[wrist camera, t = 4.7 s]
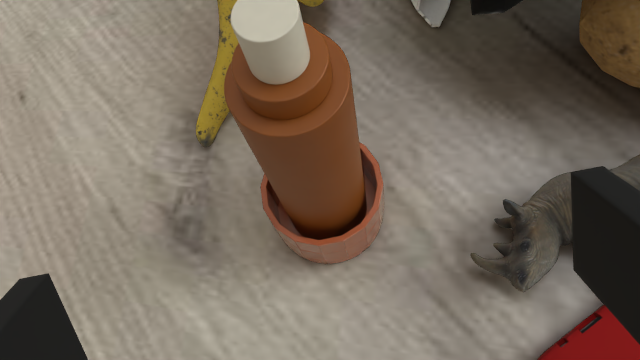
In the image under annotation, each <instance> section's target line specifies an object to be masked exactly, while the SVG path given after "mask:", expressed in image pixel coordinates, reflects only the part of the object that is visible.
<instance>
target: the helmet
mask: <svg viewBox="0 0 640 360" xmlns="http://www.w3.org/2000/svg"><path fill="white" fill-rule="evenodd" d="M521 1H523V0H471V9H472V15H480V14H494V13H504V12H505V11H507V10H509V9H510V8H512V7H513V6H515V5H517V4H518V3H520V2H521Z"/></svg>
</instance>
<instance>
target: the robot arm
mask: <svg viewBox="0 0 640 360" xmlns="http://www.w3.org/2000/svg"><path fill="white" fill-rule="evenodd" d="M571 199H572V232H573V265H574V271H575V272H576V273H577V274H578V275H579V277H580V278H581V279H582V280H583V281H584V282H585V283H586V284H587V286H588V287H589V288H590V289H591V290H592V291H593V292H594V294H595V295H596V296H597V297H598V298H599V299H600V300H601V302H602V303H603V304H604V305H605V306H606V307H607V308H608V309H609V311H610V312H611V313H612V314H613V315H614V316H615V317H616V319H617V320H618V321H619V322H620V323H621V324H622V325H623V326H624V328H625V329H626V330H627V331H628V332H629V333H630V334H631V336H632V337H633V338H634V339H635V340H636V341H637V342H638V344H639V345H640V191H639V190H638V189H636V188H635V187H633V186H632V185H630V184H629V183H627V182H626V181H624V180H623V179H621V178H620V177H618V176H617V175H615V174H614V173H612V172H611V171H609V170H608V169H606V168H605V167H603V166H601V167H596V168H591V169H585V170H580V171H575V172H571ZM0 360H88V359H87V356H86V354H85V352H84V350H83V348H82V345H81V343H80V341H79V339H78V337H77V334H76V332H75V330H74V328H73V326H72V324H71V321H70V319H69V317H68V315H67V313H66V310H65V308H64V306H63V304H62V302H61V299H60V297H59V295H58V293H57V291H56V289H55V286H54V284H53V282H52V280H51V278H50V275H49V273H48V274H43V275H38V276H33V277H28V278H22V279H19V280H18V282H17V283H16V284H15V285H14V286H13V287H12V288H11V289H10V290H9V291H8V292H7V293H6V295H5V296H4V297H3V298H2V299H1V300H0Z"/></svg>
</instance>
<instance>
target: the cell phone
mask: <svg viewBox="0 0 640 360" xmlns="http://www.w3.org/2000/svg"><path fill="white" fill-rule="evenodd" d="M537 360H640V345H639V344H638V342H637V341H636V340H635V339H634V338H633V337H632V336H631V334H630V333H629V332H628V331H627V330H626V329H625V328H624V326H623V325H622V324H621V323H620V322H619V321H618V320H617V319H616V317H615V316H614V315H613V314H612V313H611V312H610V311H609V309H608V308H607V307H606V306H605V305H603V306H601V307H600V308H599V309H598V310H596V311H595V312H594V313H593V314H591V315H590V316H589V317H588V318H586V319H585V320H584V321H583V322H581V323H580V324H579V325H578V326H576V327H575V328H574V329H573V330H571V331H570V332H569V333H568V334H566V335H565V336H564V337H562V338H561V339H560V340H559V341H557V342H556V343H555V344H554V345H552V346H551V347H550V348H549V349H547V350H546V351H545V352H544V353H543V354H542V355H541V356H540V357H539V358H538V359H537Z"/></svg>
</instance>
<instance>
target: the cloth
mask: <svg viewBox="0 0 640 360" xmlns="http://www.w3.org/2000/svg"><path fill="white" fill-rule="evenodd" d="M411 1H412V3H413V5H414V7H415V9H416V10H417V11H418V12H419V14H420V15H421V16H422V17H423V18H424V19H425V20H426V21H427V23H428V24H429V25H430V26H431V27H439V26H440V24H441V22H442V20H443V18H444V16H445V14H446V12H447V10H448V8H449V5H450V2H451V0H411Z"/></svg>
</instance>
